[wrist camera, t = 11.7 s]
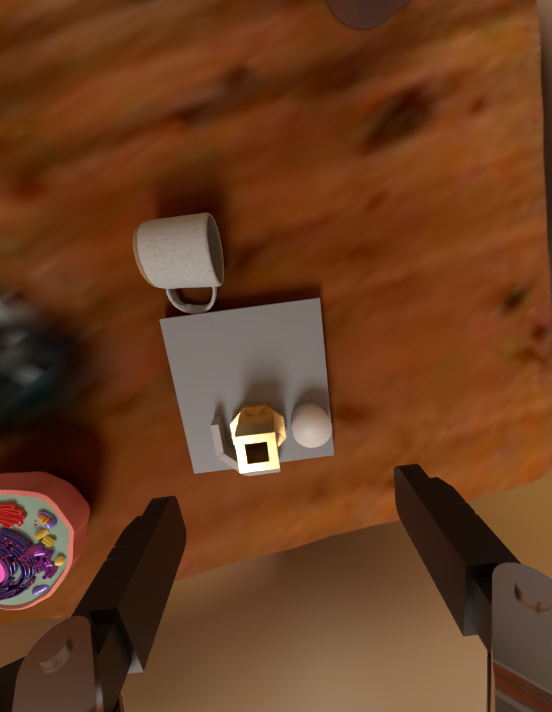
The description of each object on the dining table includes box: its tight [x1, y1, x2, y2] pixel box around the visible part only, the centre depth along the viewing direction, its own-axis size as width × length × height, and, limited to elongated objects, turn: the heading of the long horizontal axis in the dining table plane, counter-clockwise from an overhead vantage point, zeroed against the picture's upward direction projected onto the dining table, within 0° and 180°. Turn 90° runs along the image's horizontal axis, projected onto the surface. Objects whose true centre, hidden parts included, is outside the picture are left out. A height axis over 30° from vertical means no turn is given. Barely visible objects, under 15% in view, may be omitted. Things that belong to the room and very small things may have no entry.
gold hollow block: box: [230, 401, 286, 473], centre depth 34 cm, size 7×7×6 cm
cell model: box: [0, 471, 90, 610], centre depth 36 cm, size 17×20×11 cm
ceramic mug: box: [133, 212, 224, 314], centre depth 31 cm, size 11×8×8 cm
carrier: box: [159, 298, 334, 476], centre depth 35 cm, size 20×22×6 cm
